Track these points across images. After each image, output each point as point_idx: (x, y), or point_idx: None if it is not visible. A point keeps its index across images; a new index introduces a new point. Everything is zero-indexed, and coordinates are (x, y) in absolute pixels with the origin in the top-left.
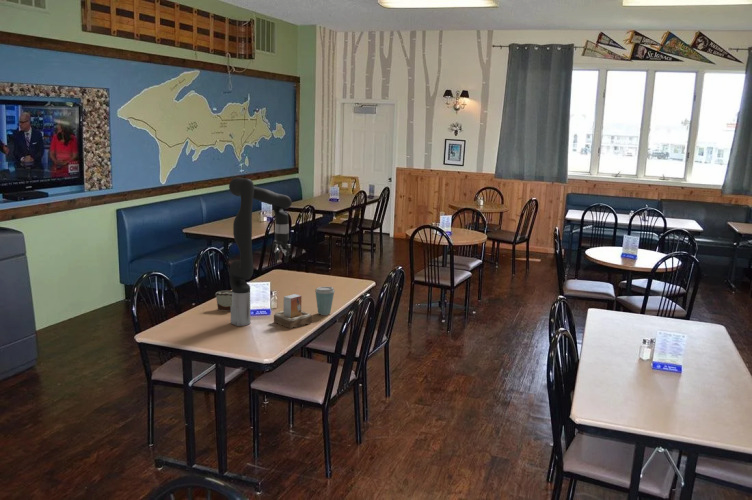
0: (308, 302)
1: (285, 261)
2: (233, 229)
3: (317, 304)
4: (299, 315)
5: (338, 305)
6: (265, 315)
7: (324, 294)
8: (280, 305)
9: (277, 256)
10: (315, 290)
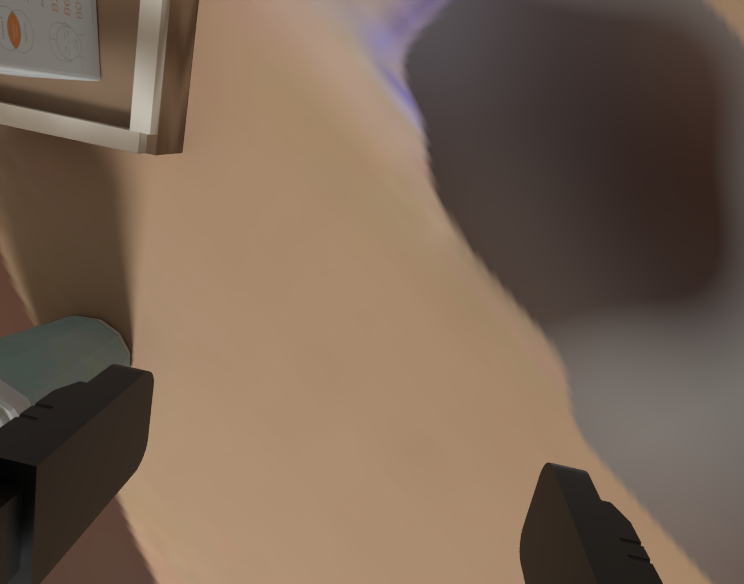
0: (375, 507)
1: (103, 378)
2: None
3: (68, 342)
4: None
5: (165, 565)
6: (401, 19)
7: None
8: (495, 323)
9: (551, 562)
10: (13, 399)
